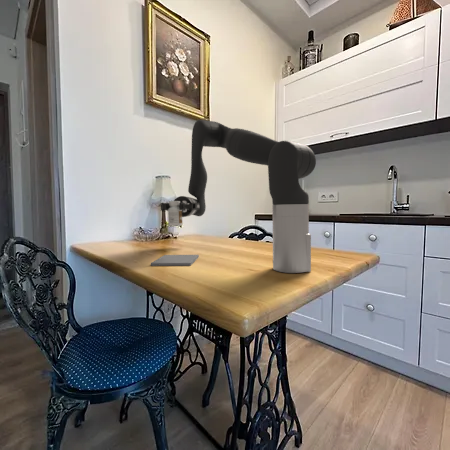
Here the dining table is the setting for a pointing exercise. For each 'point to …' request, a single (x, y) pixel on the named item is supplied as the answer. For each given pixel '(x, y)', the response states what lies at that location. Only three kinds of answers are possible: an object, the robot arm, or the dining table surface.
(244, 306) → the dining table surface
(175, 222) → the pill bottle
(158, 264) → the mat
